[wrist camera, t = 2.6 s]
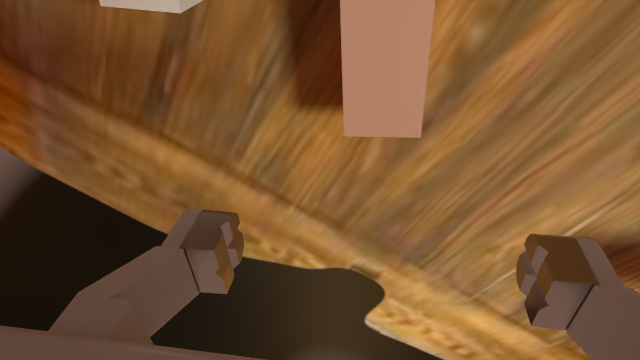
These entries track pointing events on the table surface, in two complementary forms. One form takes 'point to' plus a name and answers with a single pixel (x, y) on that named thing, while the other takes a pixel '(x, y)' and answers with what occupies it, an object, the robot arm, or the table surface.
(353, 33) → the terracotta brick
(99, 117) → the table surface
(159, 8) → the cream brick
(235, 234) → the robot arm
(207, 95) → the table surface
